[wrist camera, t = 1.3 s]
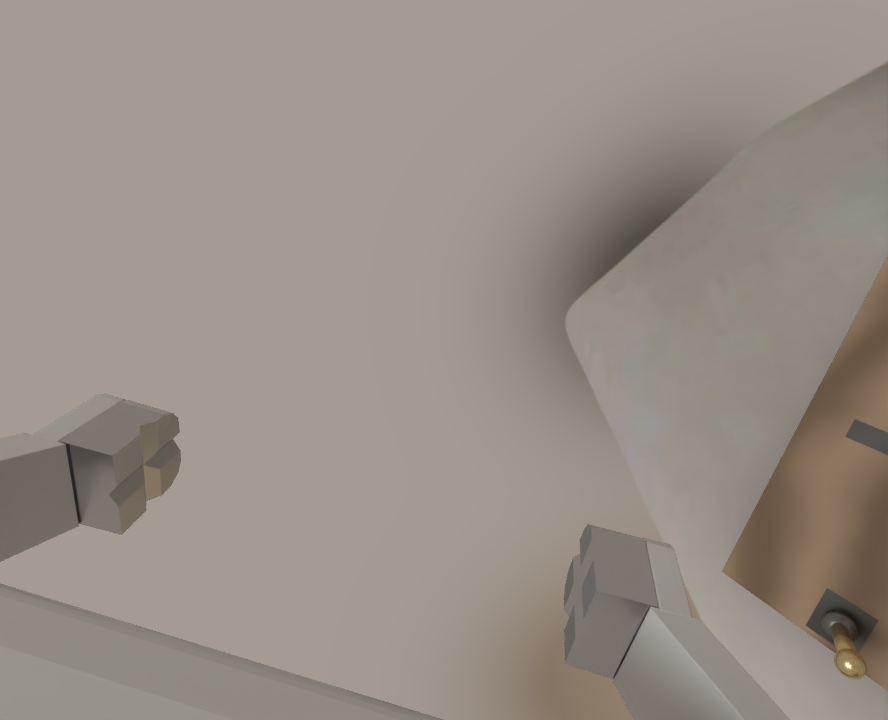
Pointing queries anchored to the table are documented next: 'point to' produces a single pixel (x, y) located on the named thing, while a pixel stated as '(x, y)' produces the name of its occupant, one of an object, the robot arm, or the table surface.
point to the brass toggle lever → (843, 643)
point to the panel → (832, 500)
